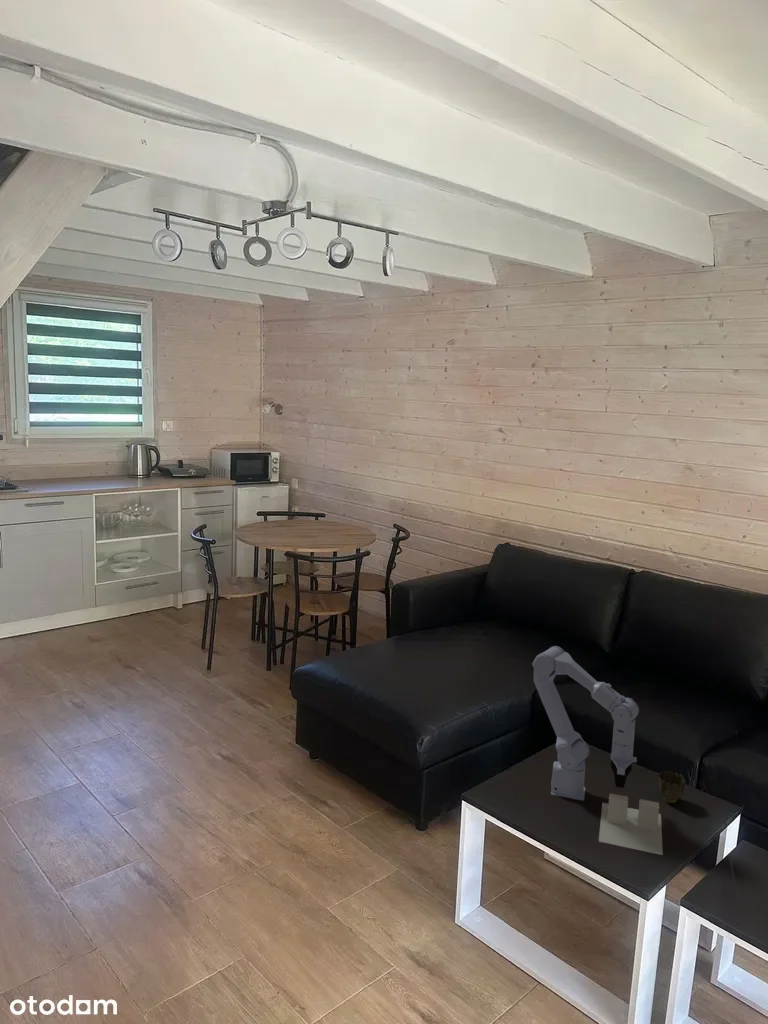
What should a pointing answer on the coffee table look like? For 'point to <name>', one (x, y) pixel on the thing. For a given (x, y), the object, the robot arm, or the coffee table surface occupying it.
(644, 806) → the slab
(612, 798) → the slab
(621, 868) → the coffee table surface
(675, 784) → the cup
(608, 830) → the mat
